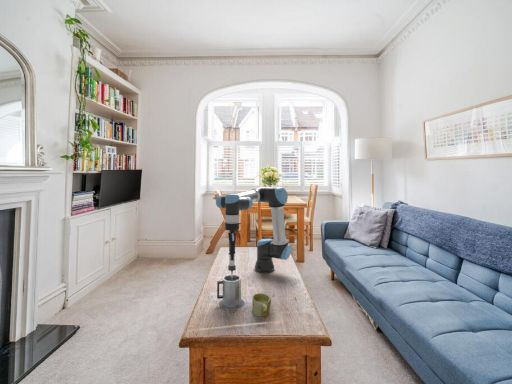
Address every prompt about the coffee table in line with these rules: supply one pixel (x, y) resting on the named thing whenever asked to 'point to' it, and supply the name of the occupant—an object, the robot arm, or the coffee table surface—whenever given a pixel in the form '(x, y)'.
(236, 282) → the grey french press
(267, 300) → the mug
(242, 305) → the coaster
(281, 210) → the robot arm
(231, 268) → the plunger
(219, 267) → the coffee table surface
